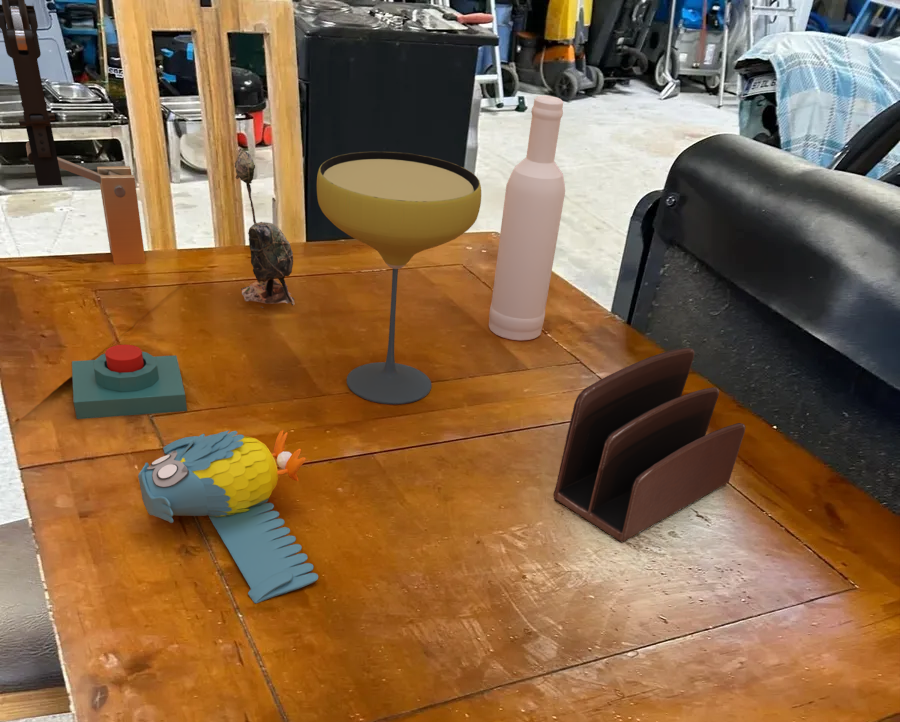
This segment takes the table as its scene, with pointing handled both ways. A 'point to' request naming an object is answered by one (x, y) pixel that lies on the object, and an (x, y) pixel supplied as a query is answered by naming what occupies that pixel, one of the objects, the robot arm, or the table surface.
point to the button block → (127, 388)
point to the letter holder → (643, 446)
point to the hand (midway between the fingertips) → (50, 183)
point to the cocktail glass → (396, 234)
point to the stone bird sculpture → (265, 250)
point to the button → (124, 358)
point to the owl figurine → (232, 503)
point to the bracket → (122, 215)
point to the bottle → (529, 230)
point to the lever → (72, 167)
